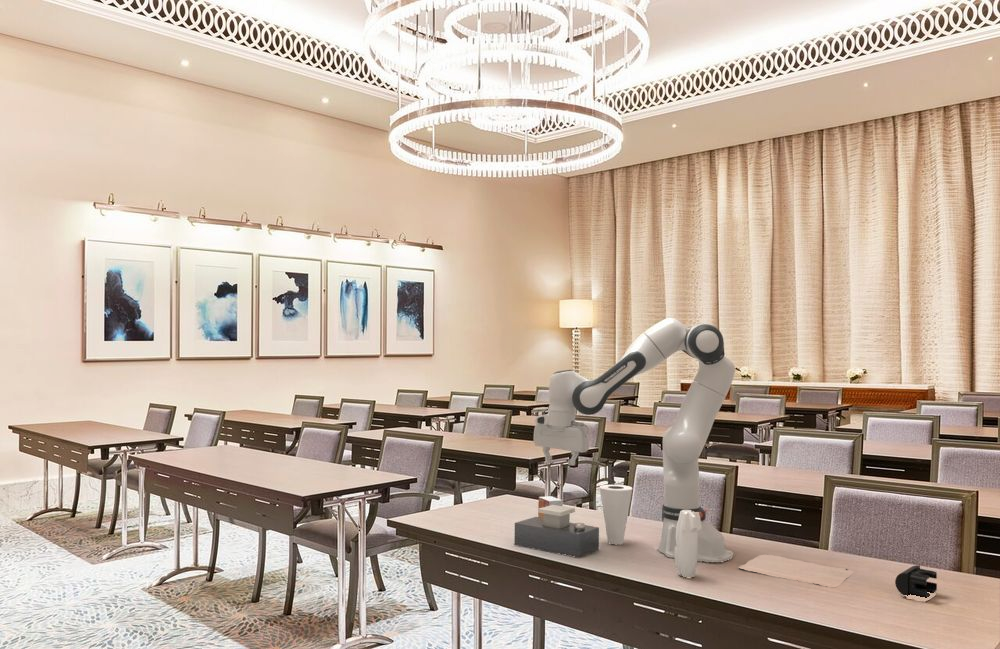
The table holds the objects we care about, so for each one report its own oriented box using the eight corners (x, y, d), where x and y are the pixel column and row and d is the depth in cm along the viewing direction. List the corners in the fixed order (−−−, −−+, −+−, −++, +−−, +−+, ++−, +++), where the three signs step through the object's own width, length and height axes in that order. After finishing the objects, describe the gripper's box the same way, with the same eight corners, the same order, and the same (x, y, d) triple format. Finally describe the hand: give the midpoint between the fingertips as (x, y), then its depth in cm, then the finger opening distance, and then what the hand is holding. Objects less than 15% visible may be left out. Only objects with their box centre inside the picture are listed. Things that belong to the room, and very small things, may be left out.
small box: (537, 526, 265) (538, 496, 265) (551, 525, 267) (551, 495, 268) (548, 531, 257) (548, 500, 258) (562, 530, 260) (562, 499, 260)
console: (598, 549, 233) (599, 522, 234) (579, 557, 224) (579, 529, 224) (535, 537, 248) (535, 511, 248) (514, 544, 238) (514, 517, 239)
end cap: (907, 588, 198) (907, 563, 199) (937, 595, 193) (937, 568, 193) (894, 596, 191) (894, 570, 191) (925, 603, 186) (925, 576, 186)
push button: (574, 530, 237) (574, 508, 237) (560, 535, 230) (560, 512, 231) (552, 526, 242) (552, 504, 242) (537, 531, 235) (538, 508, 236)
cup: (622, 549, 235) (622, 491, 236) (593, 543, 241) (593, 487, 242) (637, 542, 243) (638, 487, 244) (609, 537, 250) (609, 483, 250)
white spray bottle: (705, 579, 204) (689, 571, 211) (705, 512, 205) (689, 507, 212) (685, 581, 202) (669, 573, 209) (685, 514, 203) (669, 508, 209)
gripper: (593, 422, 235) (592, 466, 234) (543, 417, 249) (542, 458, 248) (581, 423, 230) (580, 468, 230) (531, 417, 244) (529, 460, 243)
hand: (559, 463), depth 239 cm, fingers open, 8 cm apart
